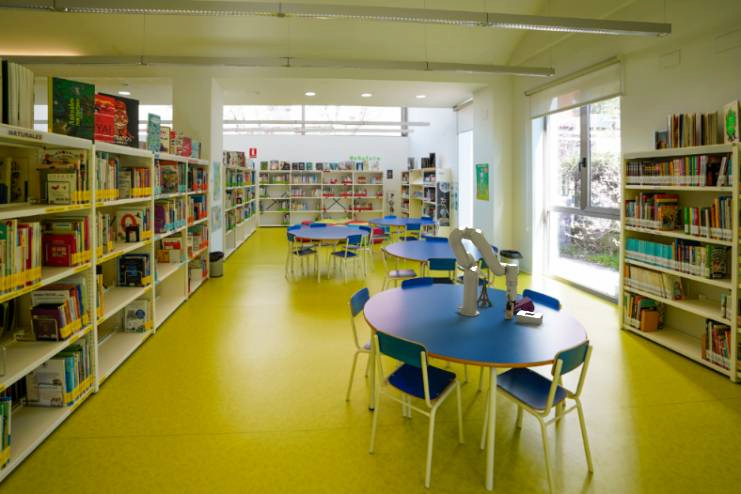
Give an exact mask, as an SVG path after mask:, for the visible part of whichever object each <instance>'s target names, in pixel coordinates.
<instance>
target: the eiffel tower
mask: <svg viewBox="0 0 741 494" xmlns="http://www.w3.org/2000/svg"><path fill="white" fill-rule="evenodd" d="M482 279H483V282H482V287H481V291H480V296H478V298H477V306H479V305H480V307H479V308H480V309H485V308H486V305H488V306H489V307H490V308H493V307H494V308H495V306H494V304H493V303H492V302H491V300H490V298H489V295H488V294H489V292H488V289H487V279H488V278H487V277H486V276H483V277H482ZM480 302H481V304H480Z"/></svg>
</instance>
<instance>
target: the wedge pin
mask: <svg viewBox="0 0 741 494" xmlns="http://www.w3.org/2000/svg"><path fill="white" fill-rule="evenodd" d="M513 309H514V303H511V311H509V310H504V311H505V313H504V319H508V320H512V319H514V311H513Z"/></svg>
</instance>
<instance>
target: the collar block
mask: <svg viewBox="0 0 741 494" xmlns="http://www.w3.org/2000/svg"><path fill="white" fill-rule="evenodd" d="M515 318H516V319H515V321H516V322H517V323H522V324H527V325H532V326H540V325H541V324H543V318H544V314H543V313H539V312H534V311H533V312H527V311H523V310H519V311H518V312H517V313H516V317H515ZM516 322H515V323H516Z"/></svg>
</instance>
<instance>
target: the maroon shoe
mask: <svg viewBox="0 0 741 494" xmlns="http://www.w3.org/2000/svg"><path fill="white" fill-rule="evenodd" d="M535 309H536V307H535V304H534V302H533V300H532V299H531V298H529V297H528V296H525V297H523V298H520V299H519V300H516V307H514V309H513V312H516V311H518V310H520V311H527V312H533V313H534V311H535ZM504 311H506V306H505V307H504Z"/></svg>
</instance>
